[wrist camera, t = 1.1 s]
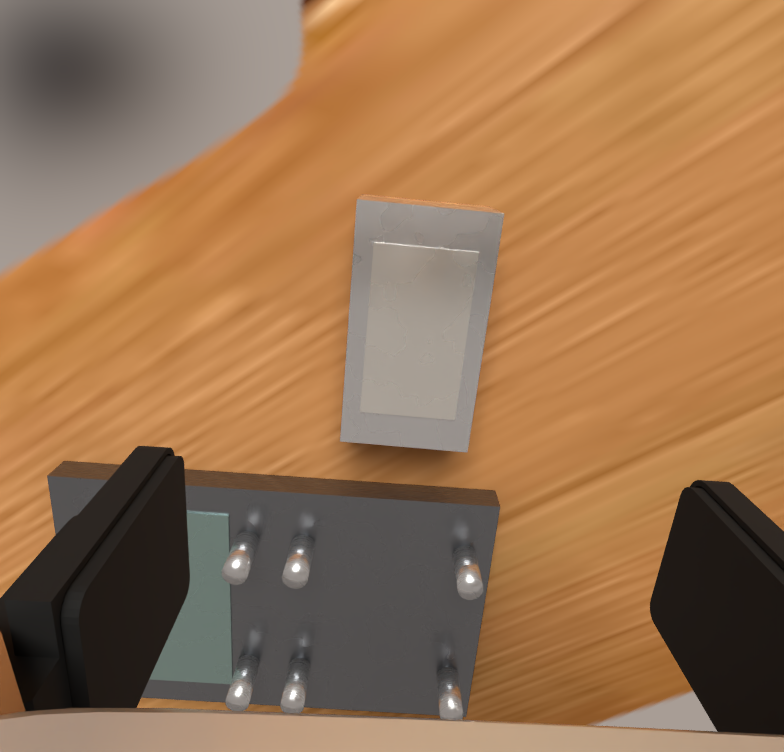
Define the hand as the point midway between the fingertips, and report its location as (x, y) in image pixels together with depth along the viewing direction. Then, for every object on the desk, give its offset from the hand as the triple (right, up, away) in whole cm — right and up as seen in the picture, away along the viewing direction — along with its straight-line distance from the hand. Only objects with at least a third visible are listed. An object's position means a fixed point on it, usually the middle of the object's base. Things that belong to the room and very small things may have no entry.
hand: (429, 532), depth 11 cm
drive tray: (-7, -9, +21) cm, 24 cm away
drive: (0, +6, +16) cm, 17 cm away
